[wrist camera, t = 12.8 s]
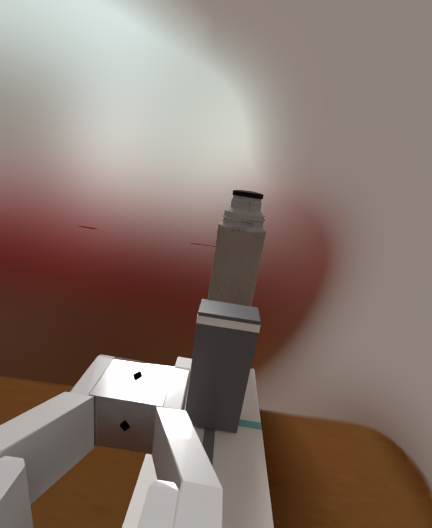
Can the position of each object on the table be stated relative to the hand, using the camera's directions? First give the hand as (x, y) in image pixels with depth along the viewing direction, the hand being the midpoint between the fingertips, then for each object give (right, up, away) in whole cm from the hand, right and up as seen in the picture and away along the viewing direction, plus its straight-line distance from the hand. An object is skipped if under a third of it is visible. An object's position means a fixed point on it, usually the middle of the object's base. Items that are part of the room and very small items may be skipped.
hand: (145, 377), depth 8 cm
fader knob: (+2, -14, +21) cm, 26 cm away
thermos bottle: (+4, -11, +40) cm, 42 cm away
